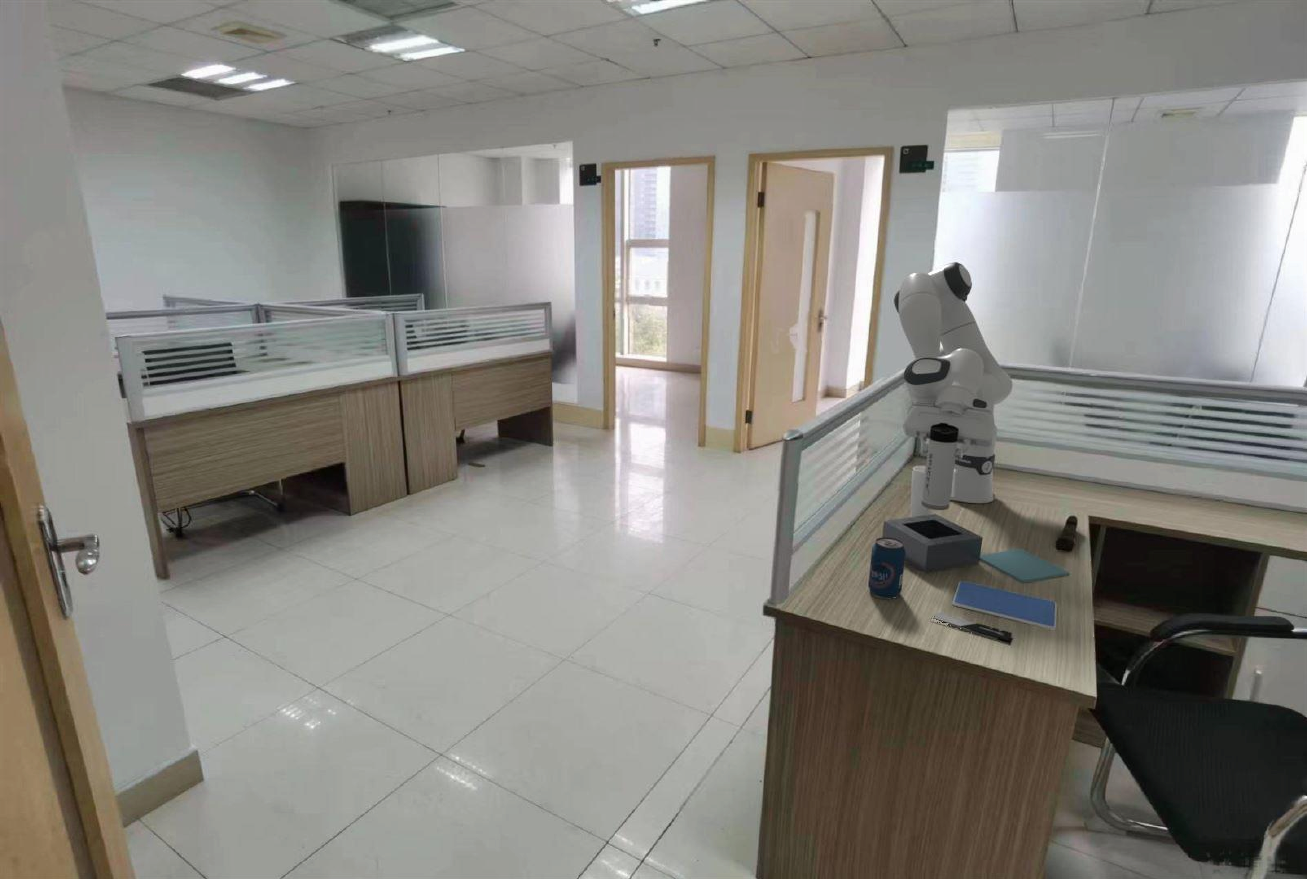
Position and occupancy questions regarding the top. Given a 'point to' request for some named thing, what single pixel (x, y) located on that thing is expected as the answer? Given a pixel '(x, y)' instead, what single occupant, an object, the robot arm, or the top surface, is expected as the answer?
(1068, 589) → the top surface
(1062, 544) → the hand tool
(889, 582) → the soda can
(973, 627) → the knife
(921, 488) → the white tall cylinder
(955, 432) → the travel mug
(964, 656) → the top surface
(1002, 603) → the tablet computer
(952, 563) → the square collar
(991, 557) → the rubber mat
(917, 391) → the robot arm
